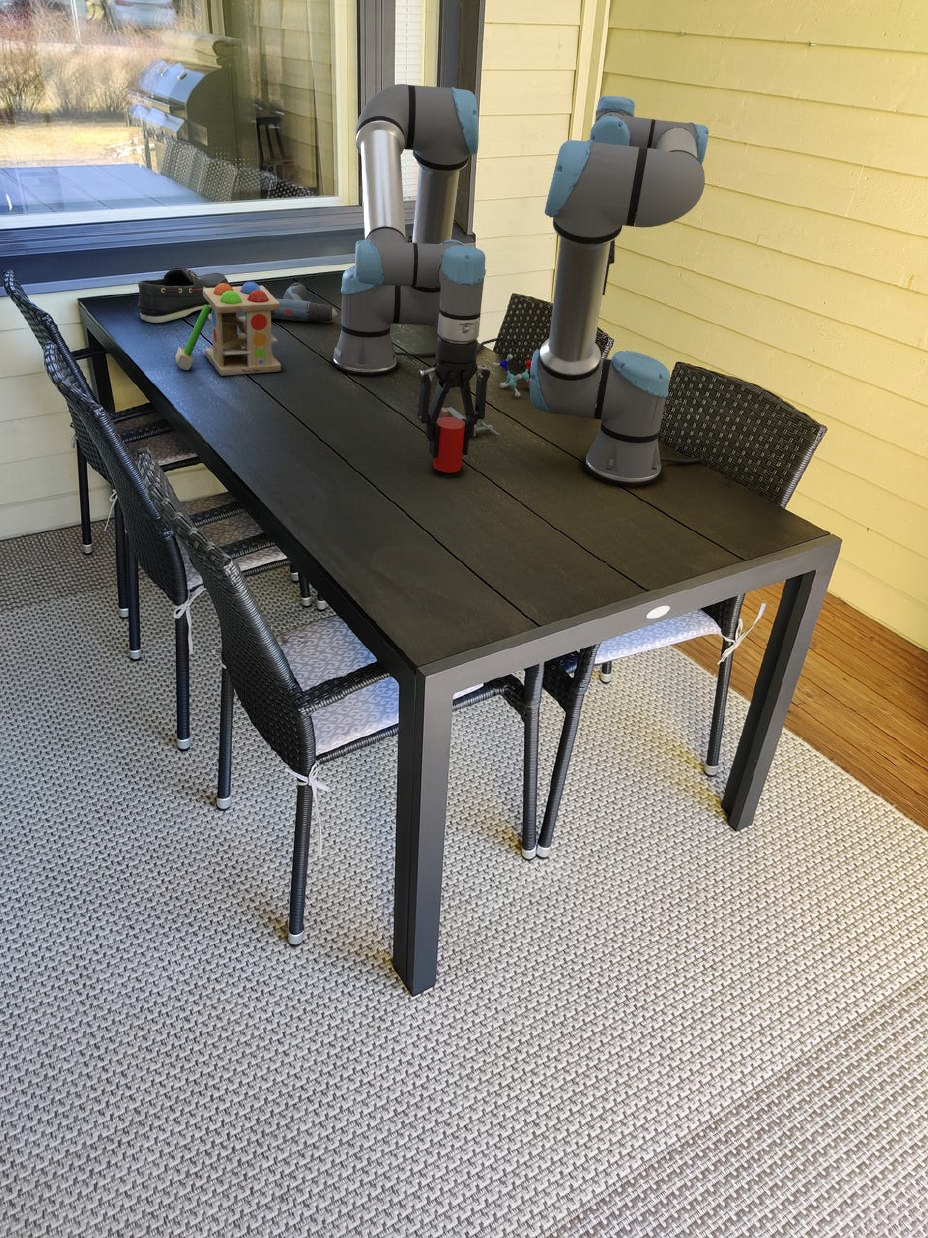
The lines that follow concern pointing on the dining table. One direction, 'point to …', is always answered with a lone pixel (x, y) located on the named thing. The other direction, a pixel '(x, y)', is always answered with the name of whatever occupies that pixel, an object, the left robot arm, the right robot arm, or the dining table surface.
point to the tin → (450, 444)
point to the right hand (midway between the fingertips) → (588, 285)
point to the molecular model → (511, 377)
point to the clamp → (453, 413)
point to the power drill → (301, 307)
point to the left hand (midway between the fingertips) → (448, 453)
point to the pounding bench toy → (229, 347)
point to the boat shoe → (175, 294)
